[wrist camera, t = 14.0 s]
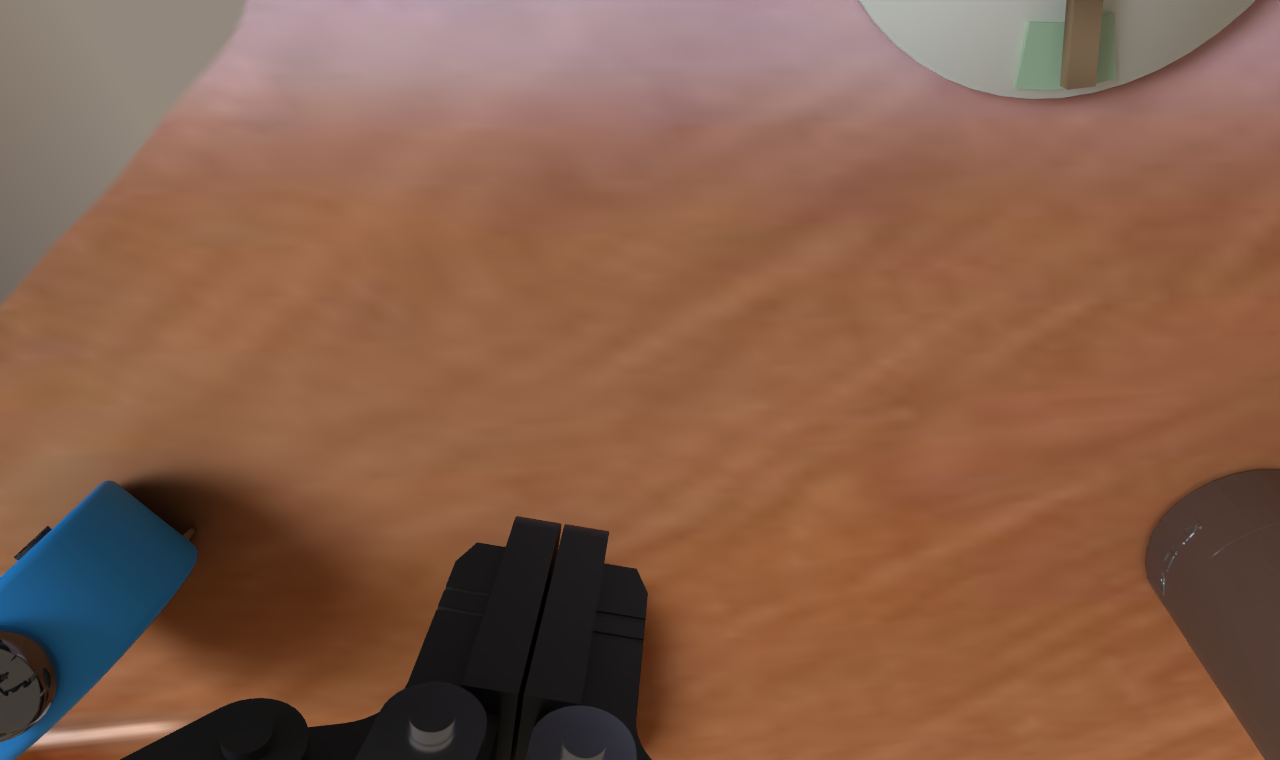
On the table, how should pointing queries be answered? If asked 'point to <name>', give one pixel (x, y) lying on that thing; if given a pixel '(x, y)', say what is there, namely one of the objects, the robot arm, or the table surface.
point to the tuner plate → (1045, 39)
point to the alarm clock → (81, 606)
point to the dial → (1081, 43)
